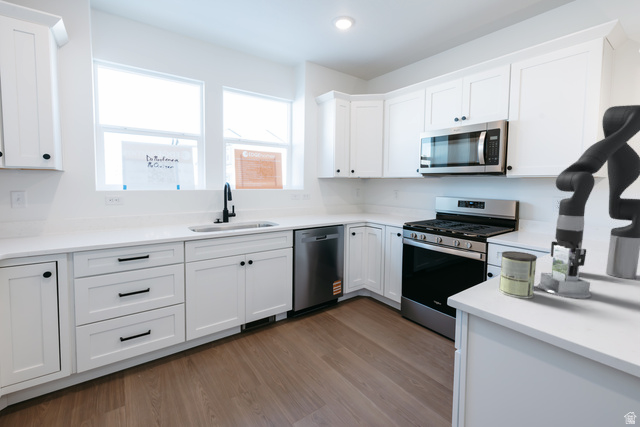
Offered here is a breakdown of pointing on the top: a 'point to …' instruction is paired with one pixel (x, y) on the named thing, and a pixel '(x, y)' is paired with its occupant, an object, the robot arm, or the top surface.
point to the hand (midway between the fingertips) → (565, 272)
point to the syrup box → (562, 264)
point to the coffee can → (517, 274)
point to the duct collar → (564, 286)
